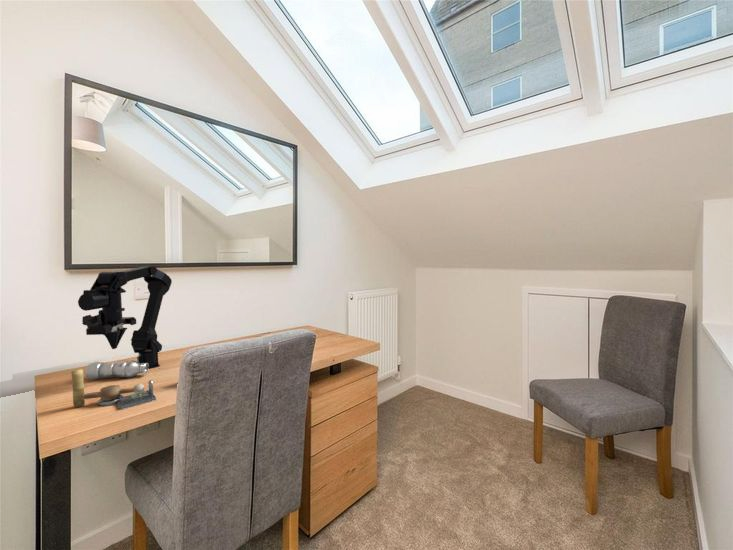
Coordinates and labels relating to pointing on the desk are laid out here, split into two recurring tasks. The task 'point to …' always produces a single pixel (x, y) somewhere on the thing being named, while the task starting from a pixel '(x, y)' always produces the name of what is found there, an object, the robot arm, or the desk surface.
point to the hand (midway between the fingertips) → (114, 348)
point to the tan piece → (104, 393)
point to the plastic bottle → (115, 369)
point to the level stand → (131, 398)
